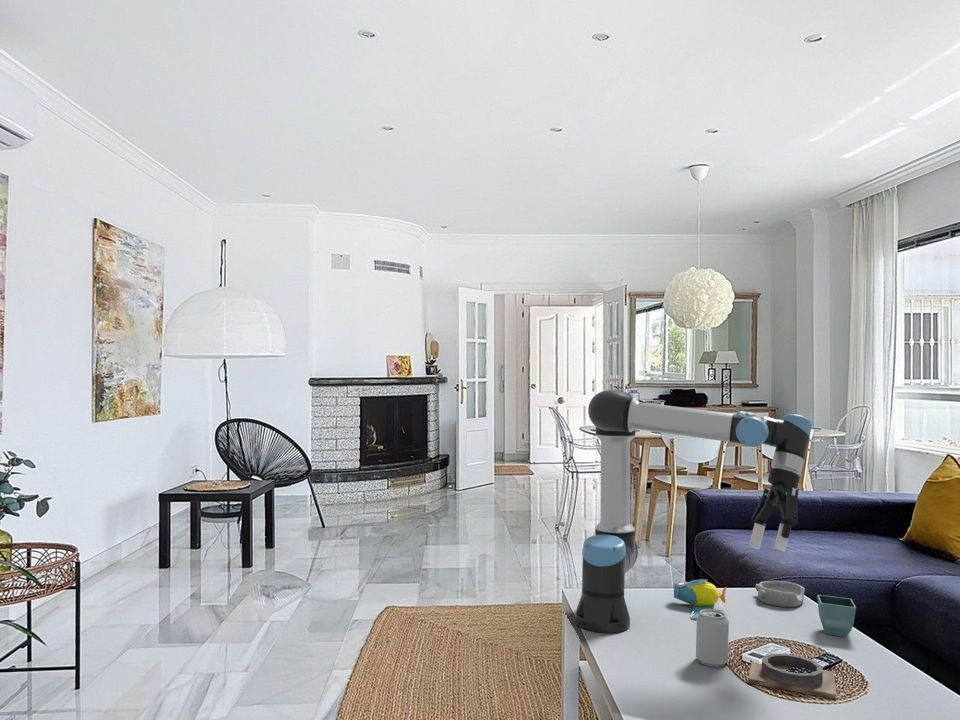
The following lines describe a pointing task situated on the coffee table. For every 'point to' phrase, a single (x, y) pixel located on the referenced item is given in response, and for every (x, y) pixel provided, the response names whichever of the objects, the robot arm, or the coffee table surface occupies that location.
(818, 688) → the can holder
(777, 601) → the dish
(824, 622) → the flower pot
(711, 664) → the can
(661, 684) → the coffee table surface
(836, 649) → the coffee table surface
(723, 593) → the blue yellow plastic figure
